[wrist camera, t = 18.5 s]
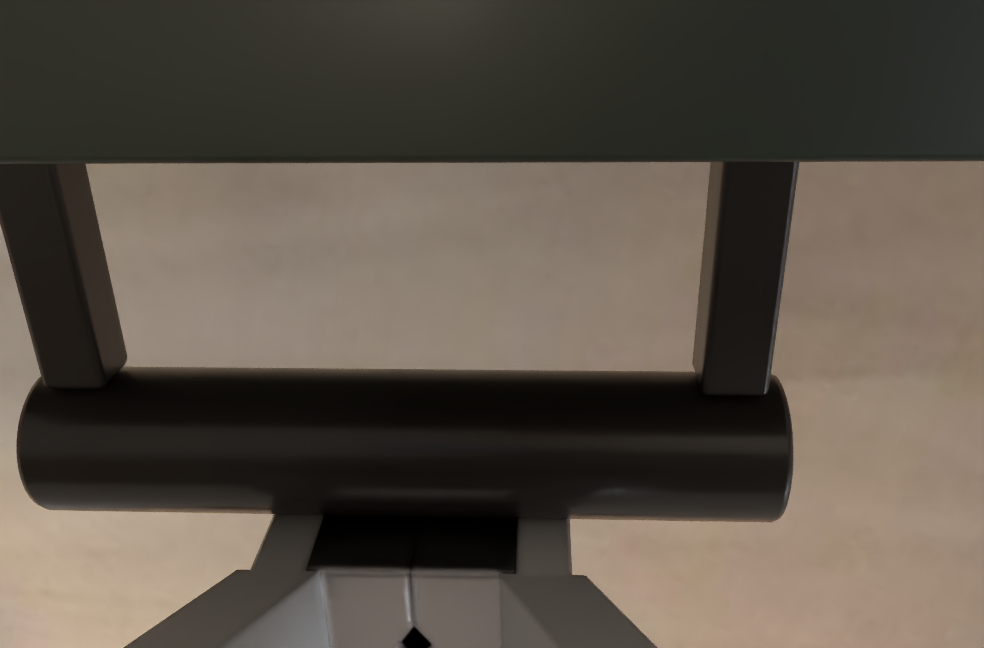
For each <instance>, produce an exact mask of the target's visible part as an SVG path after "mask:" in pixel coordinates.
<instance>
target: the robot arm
mask: <svg viewBox="0 0 984 648" xmlns="http://www.w3.org/2000/svg"><path fill="white" fill-rule="evenodd" d="M124 648H657V647H656V646H655V645H654V644H653V643H652V642H651V641H650V640H649V639H648V638H647V637H646V636H645V635H644V634H643V633H642V632H641V631H640V630H639V629H638V628H637V627H636V626H635V625H634V624H633V623H632V622H631V621H630V620H629V619H628V618H627V617H626V616H625V615H624V614H623V613H622V612H621V611H620V610H619V609H618V608H617V607H616V606H615V604H614V603H613V602H612V601H611V600H610V599H609V598H608V597H607V596H606V595H605V594H604V593H603V592H602V591H601V590H600V589H599V588H598V587H597V586H596V585H595V584H594V583H593V582H592V581H591V580H590V579H589V578H588V577H587V576H584V575H572V563H571V540H570V519H548V518H489V517H429V516H370V515H311V514H274V515H273V518H272V520H271V522H270V525H269V527H268V530H267V532H266V534H265V537H264V539H263V541H262V544H261V546H260V548H259V551H258V553H257V556H256V558H255V560H254V563H253V565H252V567H251V570H236V571H235V572H233V573H232V574H230V575H229V576H227V577H226V578H225V579H223V580H222V581H220V582H219V583H217V584H216V585H214V586H213V587H211V588H210V589H208V590H207V591H206V592H204V593H203V594H201V595H200V596H198V597H197V598H195V599H194V600H192V601H191V602H189V603H188V604H187V605H185V606H184V607H182V608H181V609H179V610H178V611H176V612H175V613H173V614H172V615H171V616H169V617H168V618H166V619H165V620H163V621H162V622H160V623H159V624H157V625H156V626H154V627H153V628H152V629H150V630H149V631H147V632H146V633H144V634H143V635H141V636H140V637H138V638H137V639H135V640H134V641H133V642H131V643H130V644H128V645H127V646H125V647H124Z"/></svg>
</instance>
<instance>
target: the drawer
mask: <svg viewBox="0 0 984 648" xmlns="http://www.w3.org/2000/svg"><path fill="white" fill-rule="evenodd" d="M888 161H984V0H0V223H1V227H2V231H3V234H4V238H5V242H6V246H7V249H8V253H9V257H10V261H11V264H12V268H13V272H14V276H15V279H16V283H17V287H18V291H19V294H20V298H21V302H22V305H23V309H24V313H25V317H26V320H27V324H28V328H29V332H30V335H31V339H32V343H33V347H34V350H35V354H36V358H37V362H38V365H39V369H40V373H41V377H40V378H39V379H38V380H37V381H36V382H35V384H34V385H33V387H32V388H31V390H30V392H29V394H28V395H27V398H26V400H25V403H24V405H23V409H22V412H21V416H20V420H19V425H18V432H17V462H18V469H19V473H20V477H21V480H22V483H23V486H24V488H25V490H26V492H27V494H28V495H29V497H30V498H31V499H32V500H33V501H34V502H35V503H36V504H38V505H39V506H41V507H43V508H46V509H48V510H74V511H133V512H192V513H251V514H311V515H370V516H429V517H489V518H548V519H607V520H666V521H726V522H773V521H775V520H778V519H779V518H781V516H782V515H783V513H784V511H785V509H786V506H787V503H788V499H789V495H790V490H791V484H792V476H793V432H792V423H791V416H790V411H789V406H788V402H787V398H786V395H785V392H784V389H783V387H782V384H781V383H780V381H779V379H778V378H777V377H776V376H774V375H772V374H771V368H772V361H773V354H774V346H775V339H776V331H777V324H778V316H779V309H780V302H781V294H782V287H783V279H784V272H785V264H786V257H787V250H788V242H789V235H790V227H791V220H792V212H793V205H794V198H795V190H796V183H797V175H798V168H799V162H888ZM501 162H711V165H710V176H709V187H708V198H707V209H706V220H705V231H704V242H703V253H702V264H701V275H700V286H699V297H698V308H697V319H696V330H695V341H694V352H693V366H694V369H695V372H661V371H547V370H433V369H319V368H206V367H123V366H124V364H125V363H126V360H127V352H126V348H125V343H124V339H123V334H122V329H121V325H120V320H119V316H118V311H117V306H116V302H115V297H114V293H113V288H112V284H111V279H110V274H109V270H108V265H107V261H106V256H105V251H104V247H103V242H102V238H101V233H100V228H99V224H98V219H97V215H96V210H95V205H94V201H93V196H92V192H91V187H90V182H89V178H88V173H87V169H86V164H115V163H501Z"/></svg>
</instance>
